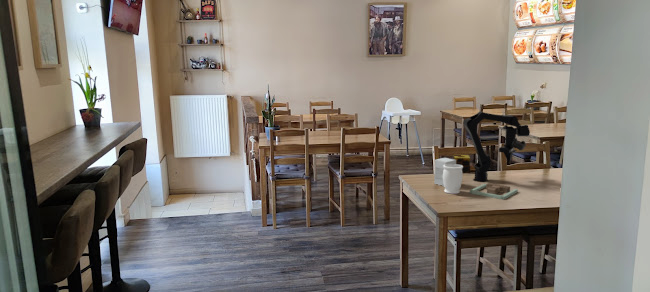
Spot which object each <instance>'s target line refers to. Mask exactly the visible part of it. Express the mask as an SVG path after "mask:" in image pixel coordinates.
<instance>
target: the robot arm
mask: <svg viewBox="0 0 650 292" xmlns="http://www.w3.org/2000/svg"><path fill="white" fill-rule="evenodd" d="M483 120H489V121H494V122H500V123H503V124H505V125H504V126H502V128H501V129H503V130H505V137H504V139H503V140H504V144H503V146H501V147H499V148H498V152H499V153H503V155H504V156H505V158H506V161H507V162H508V163H511V162H512V161H511V160H512V157H513V155H514V153H516V152H517V150H519V151H523V150H525V148H526V146H527V145H526V141H524V140H522V141H519V140H518V138H517V137H529V136H530V133H531V131H530V128H529V125H528V124H523V125H522V124H521V123H520V122H519V118H518V117H517V116H515V115H511V114H506V115H501V114H494V113H488V112H484V111H478V112H477V113H475V114H474V115H472V116H470V117H467V118H464V120H463V122H462V124H463V127H464V128H465V130H466V131H467V133H468V134H469V137H470V138H471V142H472V144H473V147H474V149H475V153H476V155H477V156H476V158H477V163H475V164H474V165H473V167H474V178H473V179H472V180H473V181H475V182H476V181H477V182H481V183H485V182H487V181H489V179H488V176H489V174H488V171H489V169H490V168H491V166H492V162H493V161H492V160H491V155H489V154H487V153H485V150H484V147H483V145H482V143H481V139H480V137H479V134H478V125H479V124H480V123H481V122H482V121H483ZM516 136H517V137H516ZM516 149H517V150H516Z"/></svg>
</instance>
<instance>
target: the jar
mask: <svg viewBox="0 0 650 292" xmlns="http://www.w3.org/2000/svg"><path fill="white" fill-rule="evenodd" d="M443 167H444V170H443V184H444V186H443V187H444V192H445V194H452V195H453V194H454V195H456V194H459V193H461V190H460V189H461V187H462V182H463V176H464V175H463V174H464V173H462V168H463V166H462V165H458V164H445V165H443Z"/></svg>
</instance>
